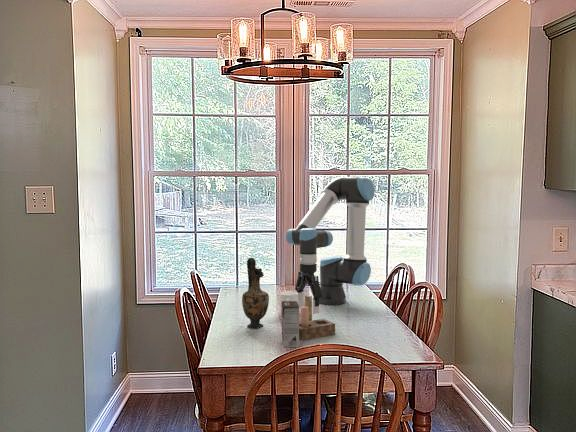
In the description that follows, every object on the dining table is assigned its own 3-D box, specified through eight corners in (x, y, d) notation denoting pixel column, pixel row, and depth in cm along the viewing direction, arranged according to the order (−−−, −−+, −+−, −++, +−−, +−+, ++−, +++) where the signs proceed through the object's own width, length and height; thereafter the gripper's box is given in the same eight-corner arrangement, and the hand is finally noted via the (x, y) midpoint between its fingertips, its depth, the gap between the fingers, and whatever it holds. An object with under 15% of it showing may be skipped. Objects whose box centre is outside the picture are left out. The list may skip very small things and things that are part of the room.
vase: (248, 331, 234) (247, 262, 231) (237, 324, 245) (236, 258, 242) (273, 327, 239) (272, 259, 237) (261, 320, 250) (260, 255, 247)
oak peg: (309, 321, 249) (309, 295, 248) (313, 323, 246) (313, 296, 245) (303, 322, 247) (303, 296, 246) (307, 324, 244) (307, 297, 243)
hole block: (323, 328, 237) (323, 318, 236) (335, 334, 229) (335, 323, 229) (291, 334, 229) (291, 323, 229) (301, 340, 221) (301, 329, 221)
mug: (296, 319, 252) (296, 297, 251) (278, 318, 253) (278, 296, 252) (298, 312, 264) (298, 291, 263) (281, 312, 265) (281, 291, 264)
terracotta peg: (306, 334, 229) (306, 306, 228) (310, 336, 227) (310, 307, 226) (299, 335, 228) (299, 307, 227) (303, 337, 225) (303, 308, 224)
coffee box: (281, 340, 222) (281, 301, 221) (297, 339, 223) (297, 300, 221) (283, 347, 213) (282, 306, 212) (299, 346, 214) (299, 306, 212)
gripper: (287, 259, 253) (287, 304, 255) (315, 268, 231) (315, 317, 233) (301, 258, 257) (301, 303, 259) (330, 266, 235) (330, 315, 237)
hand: (308, 310), depth 246 cm, fingers open, 13 cm apart
